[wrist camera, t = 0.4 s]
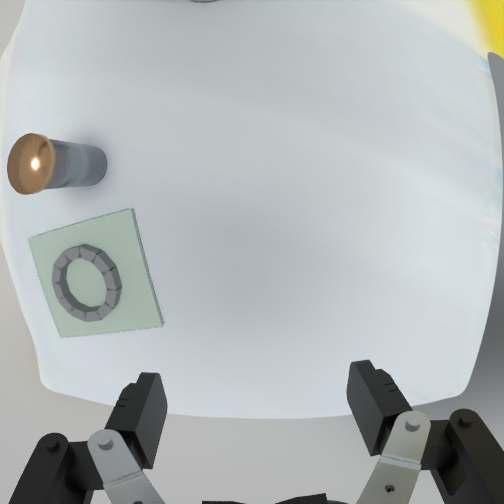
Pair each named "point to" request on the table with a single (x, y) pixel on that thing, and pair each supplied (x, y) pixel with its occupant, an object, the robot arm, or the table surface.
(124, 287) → the green base with ring
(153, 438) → the robot arm
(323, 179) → the table surface
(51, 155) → the copper lidded jar
